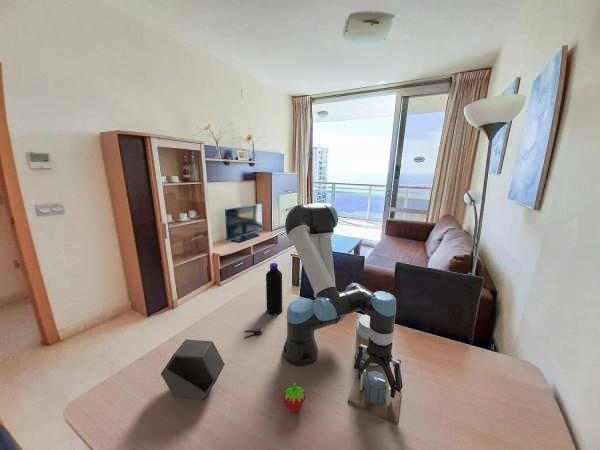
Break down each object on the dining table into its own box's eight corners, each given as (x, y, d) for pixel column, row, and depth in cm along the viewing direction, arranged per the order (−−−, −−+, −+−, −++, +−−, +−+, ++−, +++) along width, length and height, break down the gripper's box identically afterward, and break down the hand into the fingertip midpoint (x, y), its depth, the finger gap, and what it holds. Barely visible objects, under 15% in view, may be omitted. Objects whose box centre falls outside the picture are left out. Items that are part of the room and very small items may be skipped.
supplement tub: (388, 366, 98) (392, 330, 95) (359, 368, 98) (362, 331, 94) (377, 345, 110) (380, 312, 107) (351, 346, 109) (353, 313, 106)
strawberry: (282, 402, 83) (282, 377, 81) (303, 400, 84) (304, 376, 81) (283, 419, 77) (283, 393, 75) (306, 417, 78) (306, 391, 76)
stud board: (347, 402, 83) (348, 388, 82) (356, 376, 94) (357, 364, 92) (397, 424, 76) (399, 410, 75) (401, 394, 86) (402, 381, 85)
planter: (153, 384, 84) (180, 343, 79) (167, 367, 91) (192, 328, 86) (195, 410, 84) (223, 370, 80) (205, 390, 92) (232, 353, 87)
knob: (363, 399, 83) (364, 381, 82) (367, 384, 89) (369, 367, 87) (383, 407, 80) (385, 389, 79) (386, 392, 86) (388, 374, 84)
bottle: (279, 316, 132) (279, 268, 126) (264, 314, 134) (263, 266, 128) (284, 307, 141) (283, 262, 135) (269, 305, 142) (268, 260, 136)
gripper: (418, 346, 76) (410, 404, 81) (355, 320, 89) (351, 372, 94) (412, 360, 70) (404, 422, 75) (345, 331, 83) (342, 385, 88)
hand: (375, 394), depth 85 cm, fingers closed on stud board, 9 cm apart
